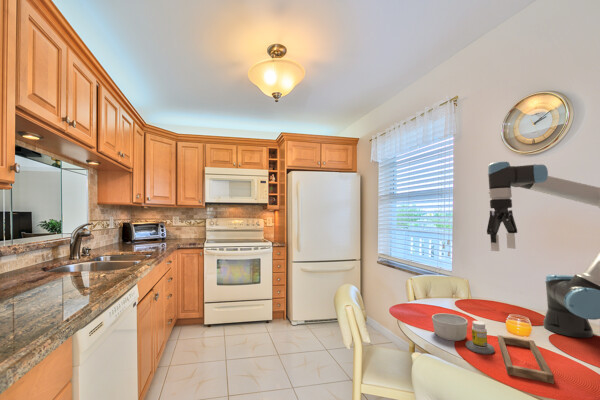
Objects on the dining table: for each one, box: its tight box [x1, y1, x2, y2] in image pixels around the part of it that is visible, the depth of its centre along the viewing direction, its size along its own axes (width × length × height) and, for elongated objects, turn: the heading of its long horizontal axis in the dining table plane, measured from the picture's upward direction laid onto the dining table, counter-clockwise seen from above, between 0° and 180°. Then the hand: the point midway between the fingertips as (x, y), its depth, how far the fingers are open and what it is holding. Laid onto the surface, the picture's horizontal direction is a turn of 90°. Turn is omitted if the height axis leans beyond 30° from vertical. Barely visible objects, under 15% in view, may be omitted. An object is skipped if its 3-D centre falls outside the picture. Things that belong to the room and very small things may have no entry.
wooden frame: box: [497, 334, 555, 385], centre depth 97 cm, size 11×26×2 cm, turn 151°
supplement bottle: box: [471, 320, 488, 348], centre depth 105 cm, size 5×5×8 cm
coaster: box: [465, 339, 495, 355], centre depth 105 cm, size 9×9×1 cm
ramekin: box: [431, 312, 469, 342], centre depth 117 cm, size 13×13×7 cm
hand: (503, 249), depth 118 cm, fingers open, 13 cm apart
